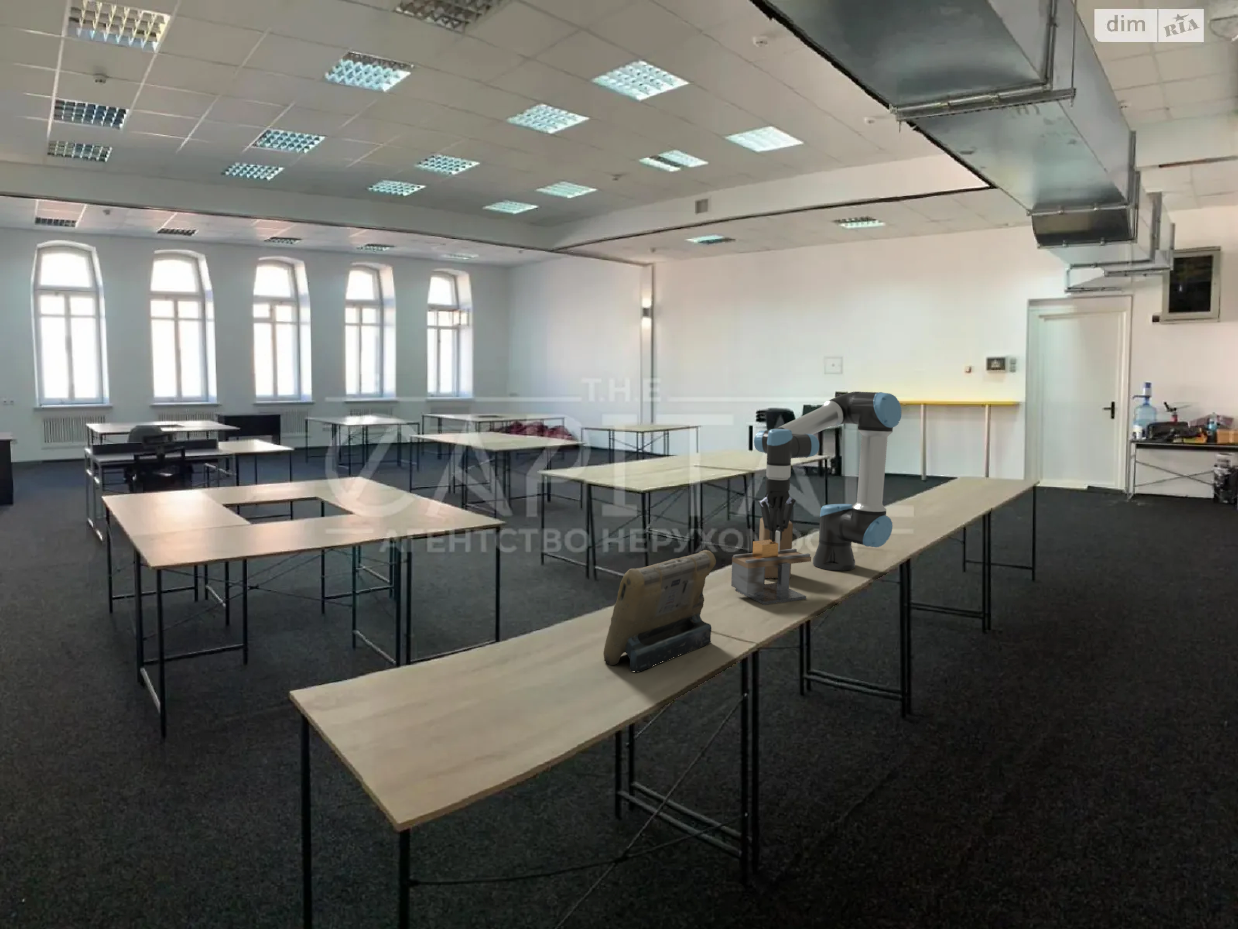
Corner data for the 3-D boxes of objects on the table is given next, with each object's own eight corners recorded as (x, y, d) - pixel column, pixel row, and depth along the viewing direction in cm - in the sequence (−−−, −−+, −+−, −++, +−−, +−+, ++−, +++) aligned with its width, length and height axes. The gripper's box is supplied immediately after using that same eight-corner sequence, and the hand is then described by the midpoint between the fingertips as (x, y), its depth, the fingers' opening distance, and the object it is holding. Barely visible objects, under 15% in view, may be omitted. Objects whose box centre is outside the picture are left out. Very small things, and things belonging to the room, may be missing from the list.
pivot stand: (776, 585, 254) (777, 550, 253) (806, 599, 240) (807, 562, 238) (735, 590, 248) (736, 554, 246) (763, 604, 233) (765, 566, 232)
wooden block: (791, 579, 262) (793, 522, 259) (762, 579, 262) (764, 522, 260) (785, 571, 272) (787, 517, 269) (757, 571, 272) (759, 516, 269)
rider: (768, 555, 245) (768, 539, 244) (777, 558, 240) (778, 543, 239) (752, 556, 242) (753, 541, 242) (761, 560, 237) (762, 544, 237)
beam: (792, 578, 252) (793, 548, 251) (809, 585, 244) (811, 554, 243) (731, 586, 243) (732, 554, 241) (747, 593, 234) (748, 561, 233)
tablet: (675, 629, 210) (677, 541, 207) (717, 641, 202) (720, 549, 198) (598, 663, 185) (599, 564, 182) (643, 678, 176) (646, 574, 173)
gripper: (787, 475, 245) (784, 546, 248) (754, 477, 240) (751, 550, 243) (802, 478, 239) (798, 551, 242) (767, 480, 233) (764, 555, 236)
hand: (775, 550), depth 242 cm, fingers closed
